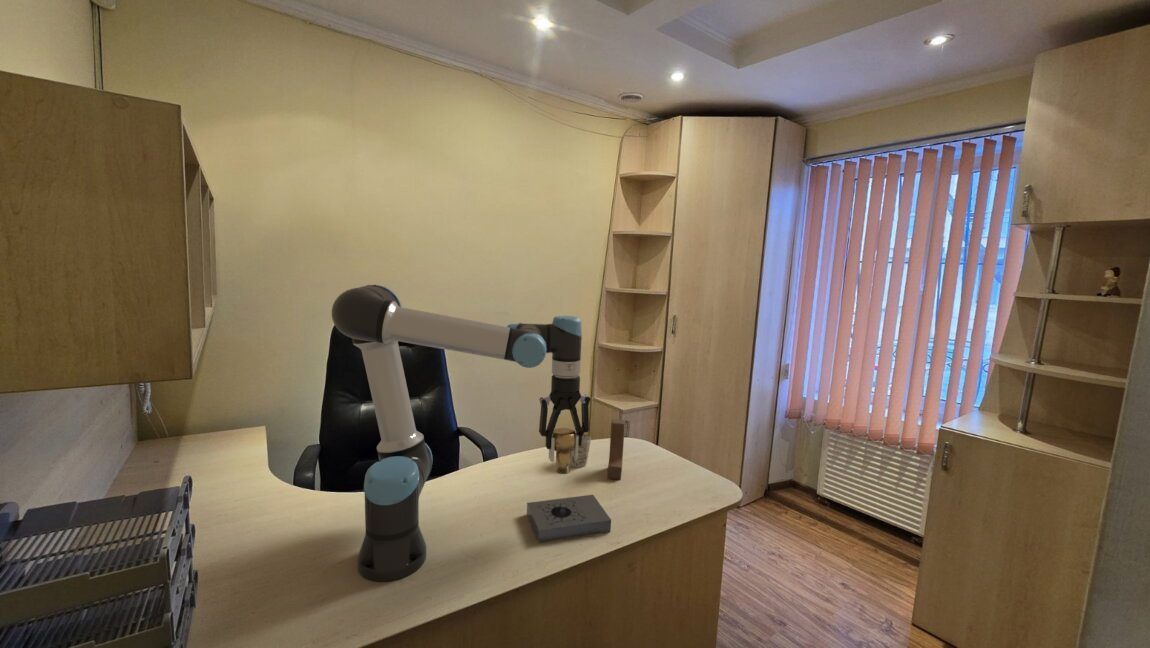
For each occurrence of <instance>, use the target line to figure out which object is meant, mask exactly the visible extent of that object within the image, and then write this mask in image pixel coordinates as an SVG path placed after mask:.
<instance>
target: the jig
mask: <svg viewBox="0 0 1150 648" xmlns="http://www.w3.org/2000/svg"><path fill="white" fill-rule="evenodd" d="M526 516H527V519H528V520H529V523H530V526H531V528H532V532H534V535H535V538H536V541H537V543H538V544H542V543H547V542H548V543H549V542H553V541H554V542H555V541H561V540H567V539H573V538H574V539H575V538H581V537H586V536H593V535H599V534H606V533H611V532H612V531H611V528H612V527H611V526H612V519H611V517H610V516H609V515H608V513H607V512H606V511H605V509H604V508H603V506H602V505H601V504H600V502H599V501H598V500H597V498H596V497H595V495H594V494H586V495H585V494H584V495H578V496H577V495H576V496H572V497H564V498H555V499H554V498H553V499H548V500H540V501H538V500H537V501H532V502H530V501H529V502H527V503H526Z"/></svg>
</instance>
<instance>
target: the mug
mask: <svg viewBox="0 0 1150 648" xmlns="http://www.w3.org/2000/svg"><path fill="white" fill-rule="evenodd" d="M591 441H592V437H591V435H589V434H587V433H583V436H582V444H581V446H578V459H575V458H574V457H573V456H572V451H571V463H570V467H571V466H572V467H574V468H584V467H586V466H587V463H588V458H589V452H590V448H591Z"/></svg>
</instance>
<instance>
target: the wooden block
mask: <svg viewBox="0 0 1150 648" xmlns="http://www.w3.org/2000/svg"><path fill="white" fill-rule="evenodd" d="M625 426H626V421H625V419H618V418H612V420H611V424H610V439H609V458H608V465H607V466H608V467H607V479H610V480H611V479H612V480H622V473H623V458H624V443H625V442H624V441H625V429H626V428H625Z"/></svg>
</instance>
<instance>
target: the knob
mask: <svg viewBox="0 0 1150 648" xmlns="http://www.w3.org/2000/svg"><path fill="white" fill-rule="evenodd" d="M575 432H576V430H575V429H572V428H568V427H558V428H555V429H554V432H553V437H554V438H555V445H554V452H555V473H556V474H560V475H566V474H569V473H570V472H571V465H570V463H571V451H573V450H574V449H575Z"/></svg>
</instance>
